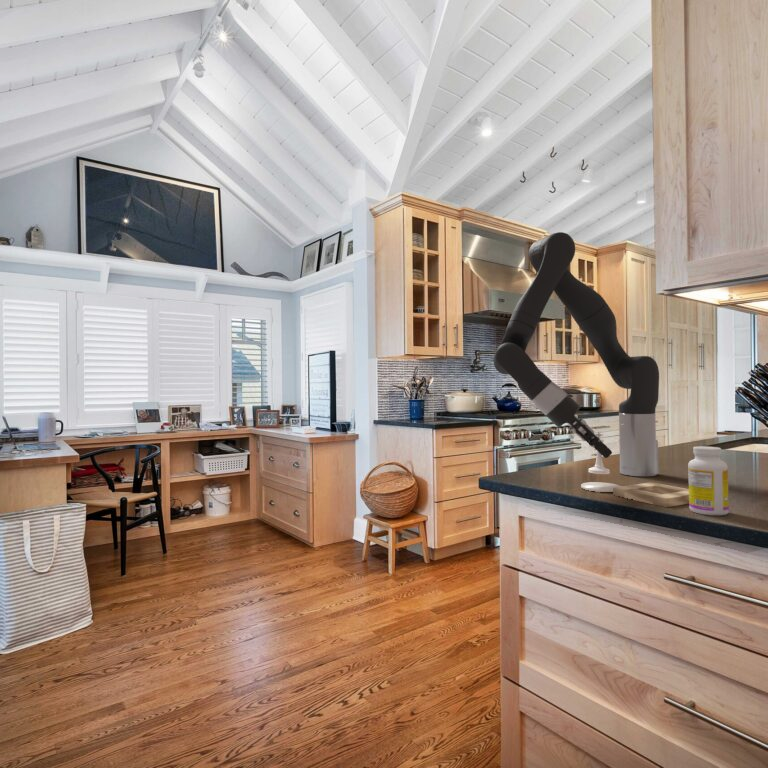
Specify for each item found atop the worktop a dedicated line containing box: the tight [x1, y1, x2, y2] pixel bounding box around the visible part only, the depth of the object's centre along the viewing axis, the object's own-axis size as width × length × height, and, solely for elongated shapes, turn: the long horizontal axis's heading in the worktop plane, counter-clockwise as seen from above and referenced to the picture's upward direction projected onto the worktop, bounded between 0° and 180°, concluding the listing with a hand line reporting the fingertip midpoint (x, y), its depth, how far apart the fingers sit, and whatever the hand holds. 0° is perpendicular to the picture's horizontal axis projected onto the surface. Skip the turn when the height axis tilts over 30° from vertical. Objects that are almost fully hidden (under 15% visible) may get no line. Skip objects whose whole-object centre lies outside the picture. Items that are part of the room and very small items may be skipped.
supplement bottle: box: [687, 445, 730, 517], centre depth 100 cm, size 7×7×13 cm
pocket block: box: [612, 481, 689, 508], centre depth 113 cm, size 13×13×2 cm
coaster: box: [580, 481, 621, 493], centre depth 124 cm, size 9×9×1 cm
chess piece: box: [588, 431, 611, 475], centre depth 124 cm, size 5×5×10 cm
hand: (608, 454), depth 123 cm, fingers closed on chess piece
